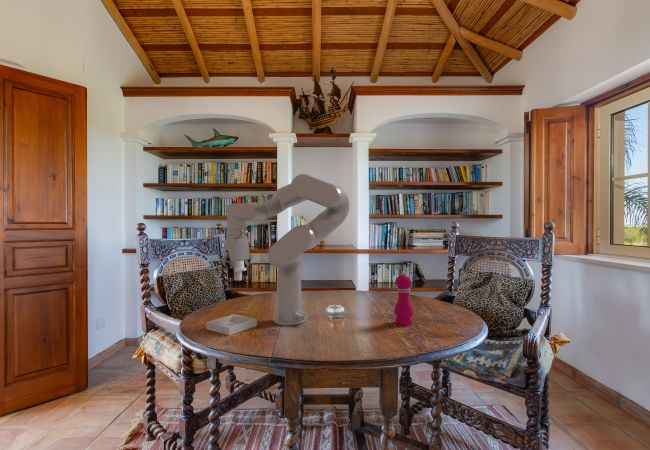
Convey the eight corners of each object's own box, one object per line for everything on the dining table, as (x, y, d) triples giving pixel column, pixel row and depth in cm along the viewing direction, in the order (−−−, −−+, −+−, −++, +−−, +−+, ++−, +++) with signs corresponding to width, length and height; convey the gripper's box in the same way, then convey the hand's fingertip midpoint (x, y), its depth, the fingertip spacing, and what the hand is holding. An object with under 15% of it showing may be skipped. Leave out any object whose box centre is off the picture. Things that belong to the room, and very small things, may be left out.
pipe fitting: (238, 281, 136) (237, 261, 136) (226, 280, 140) (225, 261, 141) (249, 279, 142) (249, 260, 142) (238, 278, 146) (237, 259, 146)
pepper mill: (415, 321, 133) (414, 270, 133) (411, 326, 126) (411, 272, 126) (396, 319, 136) (396, 269, 136) (392, 324, 129) (391, 272, 129)
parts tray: (256, 325, 129) (256, 319, 129) (229, 335, 118) (229, 327, 118) (233, 320, 137) (233, 314, 137) (206, 329, 126) (206, 322, 126)
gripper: (247, 233, 150) (248, 273, 150) (213, 234, 136) (214, 278, 136) (258, 232, 146) (259, 274, 146) (225, 234, 132) (226, 280, 132)
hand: (237, 276), depth 141 cm, fingers closed on pipe fitting, 6 cm apart
